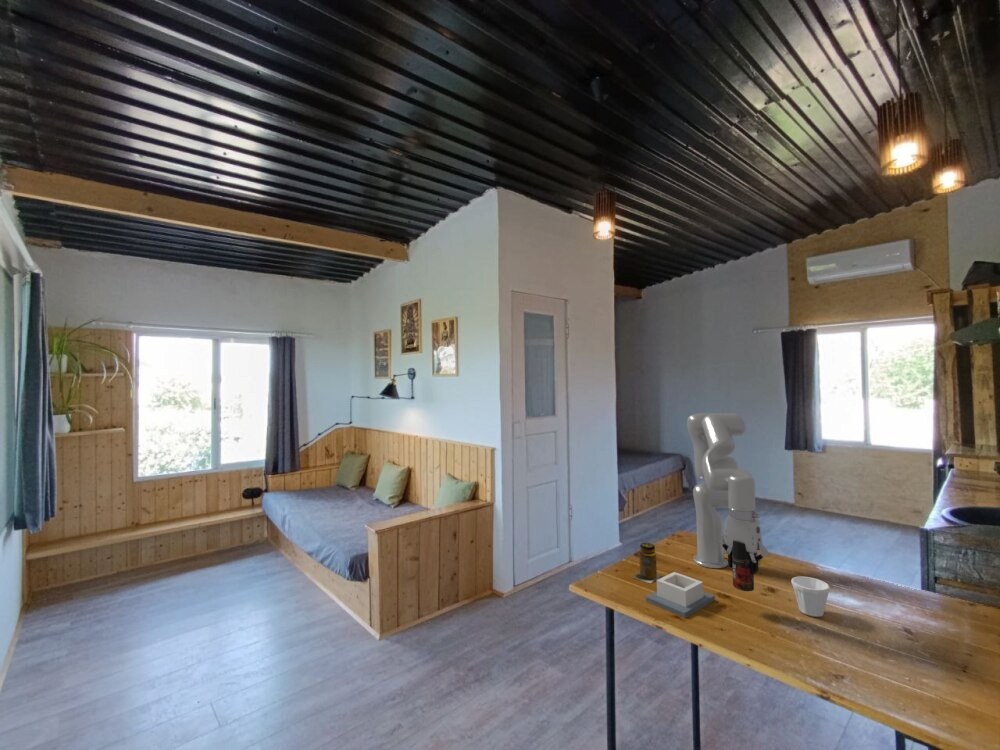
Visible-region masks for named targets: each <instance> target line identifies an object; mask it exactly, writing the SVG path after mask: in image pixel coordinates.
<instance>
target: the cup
mask: <svg viewBox="0 0 1000 750" xmlns="http://www.w3.org/2000/svg"><path fill="white" fill-rule="evenodd" d="M790 582H791V585H792V587H793V591H794V594H795V598H796V601H797V605H798V609H799V611H800V613H801V614H803V615H805V616H808V617H811V618H822V617H823V616H824V613H825V610H826V609H825V608H826V605H827V600H828V596H829V593H830V591H831V586H830V584H828V583H826V582H825V581H824V580H821V579H819V578H815V577H810V576H795V577H792V578H791V581H790ZM821 616H822V617H821Z"/></svg>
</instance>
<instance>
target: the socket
mask: <svg viewBox="0 0 1000 750" xmlns="http://www.w3.org/2000/svg"><path fill="white" fill-rule="evenodd" d="M715 598H716V597H715V595H713V594H711V593H709V592H705V591H704V581H701V580H698V579H695V578H693V577H690V576H688V575H684V574H683V573H682V574H681V573H678V572H676V571H674V572H670V573H669V574H667V575H665V576H663V577H662V576H661V577H660V578H658V579H657V580H656V591H655V592H653V593H651V594H648V595H646V596H645V602H647V603H650V604H651V605H653V606H656V607H659V608H661V609H662V610H663V609H664V611H668V612H670V613H673V614H674V615H677V616H679V617H682V618H684V619H686V618H687V617H689V616H690V615H692V614H694V613H696V612H697V611H699V610H701V609H703V608H704V607H706V606H707V605H709V604H710V603H713V602H714V601H715Z"/></svg>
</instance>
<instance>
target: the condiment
mask: <svg viewBox="0 0 1000 750" xmlns="http://www.w3.org/2000/svg"><path fill="white" fill-rule="evenodd" d="M639 547H640V548H639V550H640V551H639V553H638V554H639V573H637V574H635V575H634V576H632V578H633V579H636V580H638V581H641V582H643V583H647V584H652V583H653V582H655V581H657V580H658V579H660V578H662V575H658V574H657V573H658V572H657V570H658V569H657V553H656V546H655V544H653V543H652V542H651V543H650V542H643V543H640V546H639Z"/></svg>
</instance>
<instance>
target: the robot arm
mask: <svg viewBox="0 0 1000 750" xmlns="http://www.w3.org/2000/svg"><path fill="white" fill-rule="evenodd" d="M745 422H746V421H745V419H744V417H742V415H741V414H740V413H739V414H738V413H735V412H734V413H733V412H732V413H731V412H730V413H729V412H717V413H716V412H715V413H713V412H711V413H710V412H701V413H699V412H698V413H693V414H691V415H689V416H688V417H687V420H686V427H687V431H688V435H689V436H690V439H691V441H692V445H693V457H694V469H695V474H696V476H697V477H698V478H699V479H701V480H705V482H704V483H703V482H702V483H698V484H696V485H695V486H694V487H693V490H692V495H693V500H694V501H693V502H694V507H695V519H696V542H697V543H696V545H697V547H696V550H697V554H696V555H695V554H694V556H693V562H695V564H697V565H699V566H701V567H705V568H710V569H724V568H726V567H727V566H728V567H729V568H733V564H732V547H733V540H734V541H737V542H740V543H744V544H745V546H746V550H747V552H749V554H750V557H751V559H752V561H751V562H750V574H752V575H754V576H755V574H756V573H758V572H759V561H760V560H763V558H765V557H767V556H768V555H770V552H769V550H767V548H766V547H765V545H764V544H763V537H762V535H763V534H762V529H761V525H760V521H759V519H760V518H761V514H760V513H758V512H757V510H756V487H755V486H756V481H755V478H754V477H753V476H752V474H751V473H750V471H748V470H747V469H746V468H739V465H738V462H737V460H736V459H735V458H734V457H732V456H730V455H731V454H732V453H733V452H734V451H735V450H736V444H735V441H734V438H733V436H734V437H735V436H737V437H741V436H743V435H744V434H745V433H746V429H747V428H746V423H745ZM716 509H728V514H727V515H726V519H725V524H724V530H723V519H722V516H721V515H720V514H719V512H717V511H716ZM723 531H724V532H723ZM758 551H759V552H761V553H760V554H759V552H758ZM725 554H727V559H726V558H725V557H724V556H725Z"/></svg>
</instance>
